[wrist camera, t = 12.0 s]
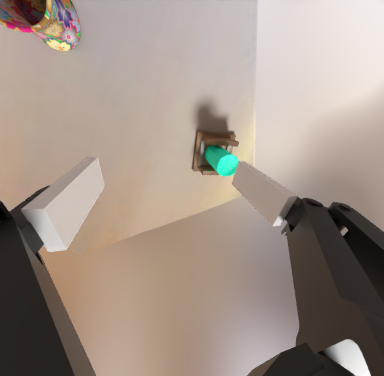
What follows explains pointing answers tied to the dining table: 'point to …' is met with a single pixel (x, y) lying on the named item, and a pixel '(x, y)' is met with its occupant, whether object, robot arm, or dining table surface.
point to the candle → (221, 160)
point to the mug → (43, 21)
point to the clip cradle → (205, 141)
